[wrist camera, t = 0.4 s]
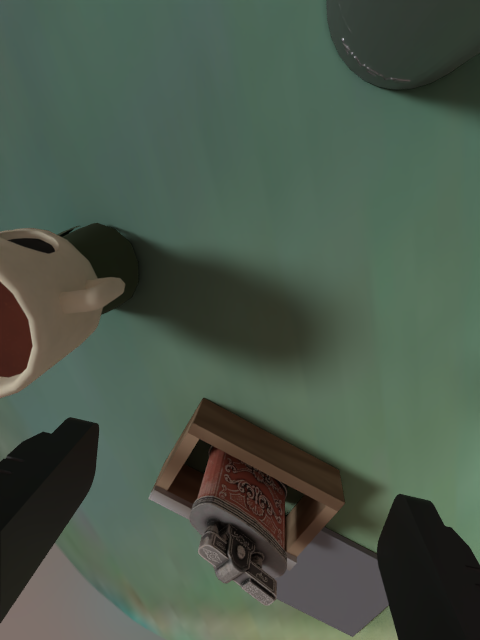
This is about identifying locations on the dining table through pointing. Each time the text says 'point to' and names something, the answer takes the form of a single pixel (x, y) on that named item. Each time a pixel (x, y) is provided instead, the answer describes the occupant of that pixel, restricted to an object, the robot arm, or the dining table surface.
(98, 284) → the character mug
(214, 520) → the lighter
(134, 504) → the dining table surface
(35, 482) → the robot arm
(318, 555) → the mat
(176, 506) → the holder
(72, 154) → the dining table surface
